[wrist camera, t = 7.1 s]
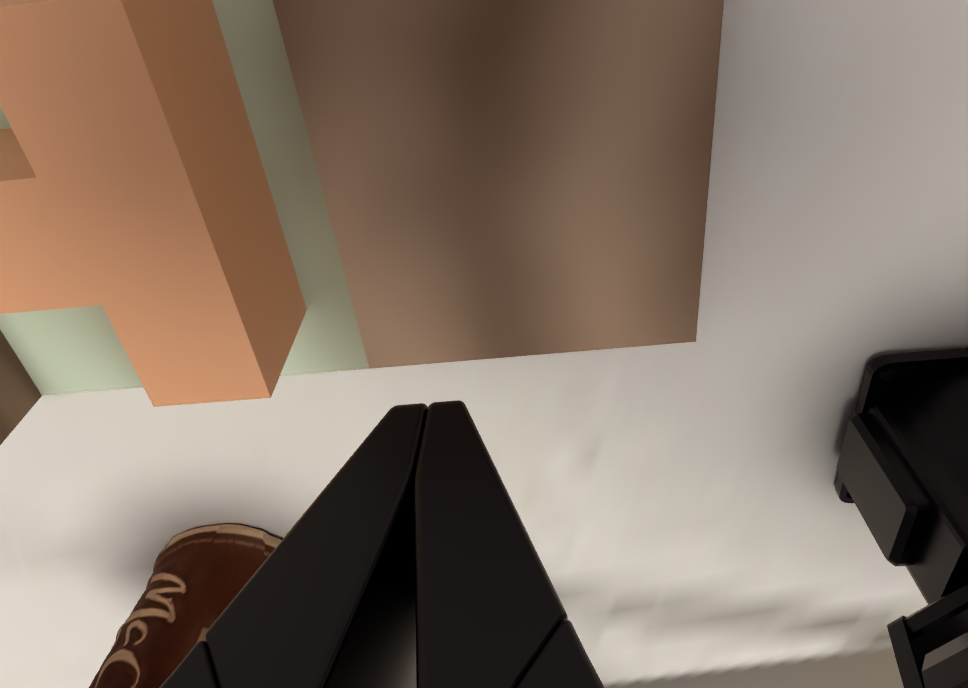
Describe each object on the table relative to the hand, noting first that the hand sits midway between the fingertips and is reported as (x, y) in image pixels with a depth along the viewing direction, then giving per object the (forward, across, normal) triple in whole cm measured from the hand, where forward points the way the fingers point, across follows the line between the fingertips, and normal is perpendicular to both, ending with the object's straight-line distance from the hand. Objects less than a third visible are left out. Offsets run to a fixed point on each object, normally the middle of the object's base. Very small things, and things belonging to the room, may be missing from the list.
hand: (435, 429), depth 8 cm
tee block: (+11, +10, 0) cm, 15 cm away
